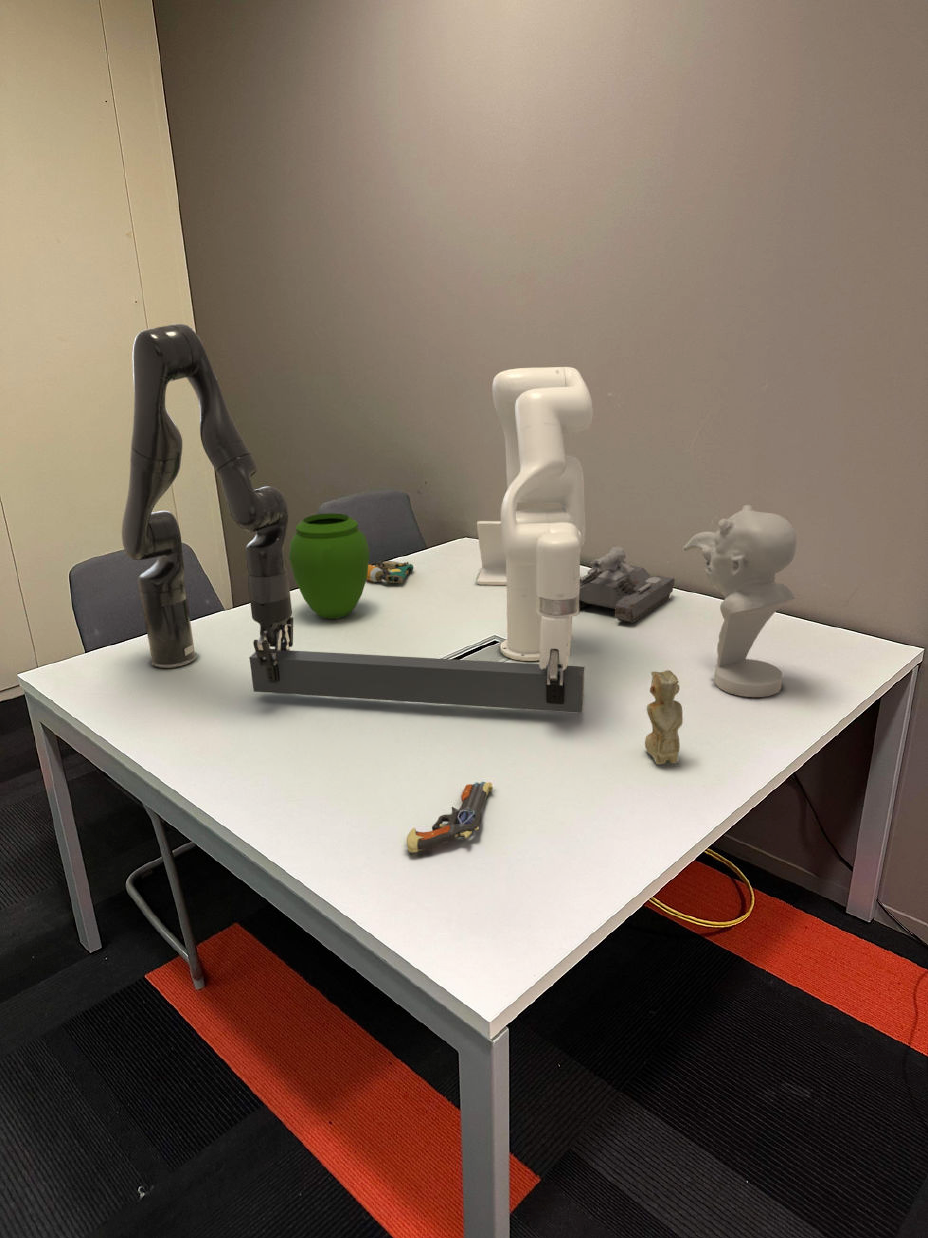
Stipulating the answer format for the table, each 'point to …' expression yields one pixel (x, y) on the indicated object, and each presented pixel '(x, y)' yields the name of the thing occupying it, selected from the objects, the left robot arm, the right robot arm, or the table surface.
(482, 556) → the tablet stand
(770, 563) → the bust sculpture
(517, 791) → the table surface
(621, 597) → the toy
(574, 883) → the table surface
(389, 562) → the spray gun
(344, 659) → the beam
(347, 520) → the vase
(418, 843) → the toy gun
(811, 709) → the table surface
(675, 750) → the sculpture
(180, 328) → the left robot arm
